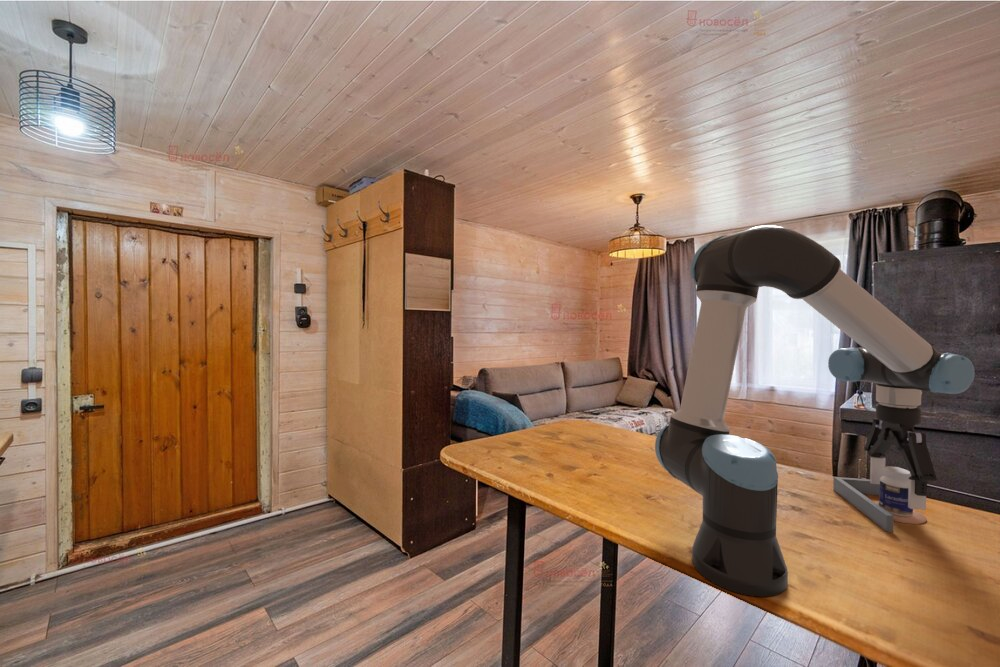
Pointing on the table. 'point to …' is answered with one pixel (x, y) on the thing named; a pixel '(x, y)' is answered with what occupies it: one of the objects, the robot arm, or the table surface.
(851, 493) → the low walls
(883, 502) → the pill bottle
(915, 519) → the pad
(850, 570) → the table surface
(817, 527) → the table surface
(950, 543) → the table surface
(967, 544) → the table surface
